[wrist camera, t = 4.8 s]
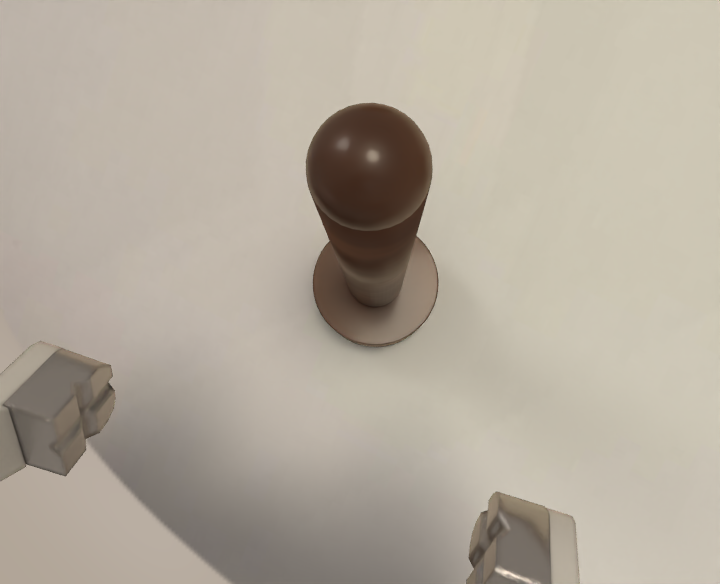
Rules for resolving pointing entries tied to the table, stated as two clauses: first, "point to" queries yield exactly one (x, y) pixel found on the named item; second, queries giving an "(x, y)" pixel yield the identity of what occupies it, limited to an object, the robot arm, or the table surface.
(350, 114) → the wooden tamper
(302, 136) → the table surface
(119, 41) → the table surface
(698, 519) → the table surface
